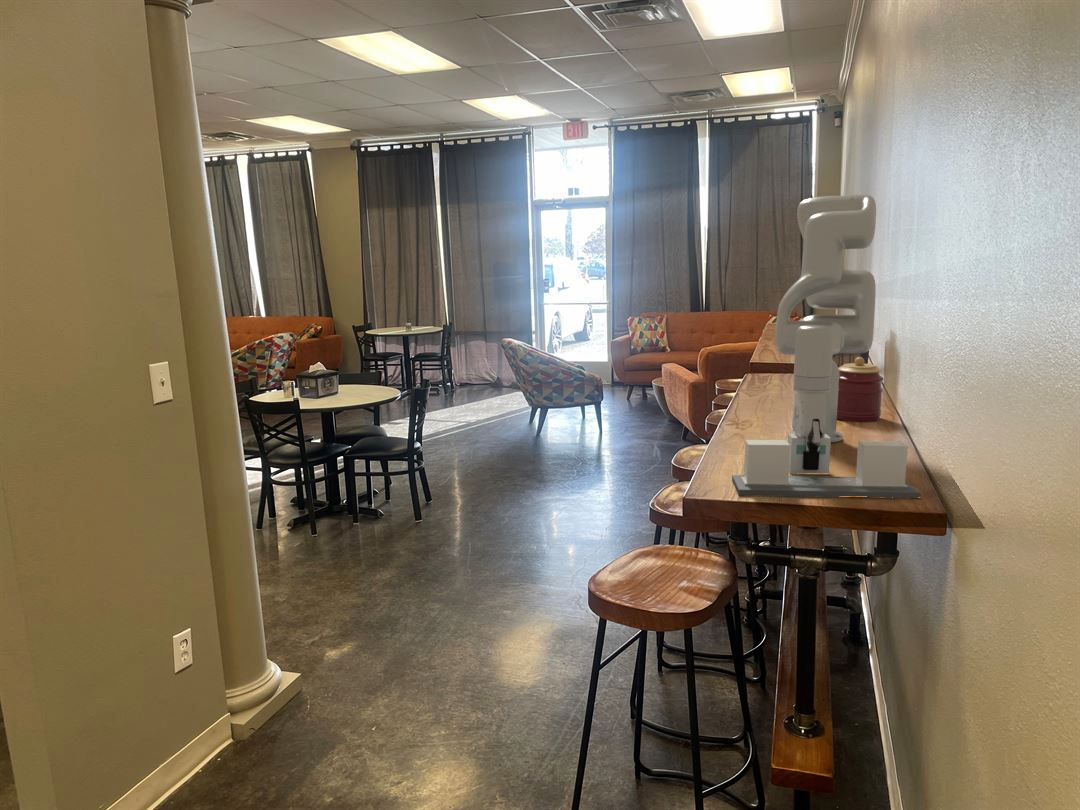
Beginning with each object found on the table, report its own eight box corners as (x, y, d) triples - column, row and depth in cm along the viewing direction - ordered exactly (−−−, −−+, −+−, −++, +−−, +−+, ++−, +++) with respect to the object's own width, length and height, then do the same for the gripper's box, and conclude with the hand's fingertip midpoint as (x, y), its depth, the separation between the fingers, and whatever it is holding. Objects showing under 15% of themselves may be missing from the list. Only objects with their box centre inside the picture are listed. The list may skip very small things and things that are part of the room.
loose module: (786, 468, 161) (788, 433, 159) (824, 469, 160) (826, 433, 158) (790, 474, 157) (792, 438, 155) (829, 474, 156) (831, 438, 154)
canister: (875, 414, 214) (880, 354, 211) (885, 423, 202) (889, 360, 198) (828, 412, 217) (832, 354, 214) (835, 422, 205) (838, 359, 202)
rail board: (732, 480, 153) (732, 475, 153) (902, 483, 149) (902, 477, 149) (738, 495, 144) (738, 489, 143) (920, 498, 139) (921, 492, 139)
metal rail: (741, 478, 150) (741, 476, 150) (899, 481, 146) (899, 479, 146) (744, 485, 146) (744, 484, 145) (908, 488, 142) (908, 486, 141)
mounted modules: (744, 477, 150) (745, 439, 148) (897, 479, 146) (900, 441, 144) (747, 483, 146) (748, 444, 144) (904, 485, 142) (907, 446, 140)
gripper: (785, 377, 163) (782, 456, 167) (802, 390, 147) (798, 477, 150) (820, 377, 162) (816, 456, 166) (841, 390, 146) (836, 478, 149)
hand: (807, 465), depth 158 cm, fingers closed on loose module, 4 cm apart
